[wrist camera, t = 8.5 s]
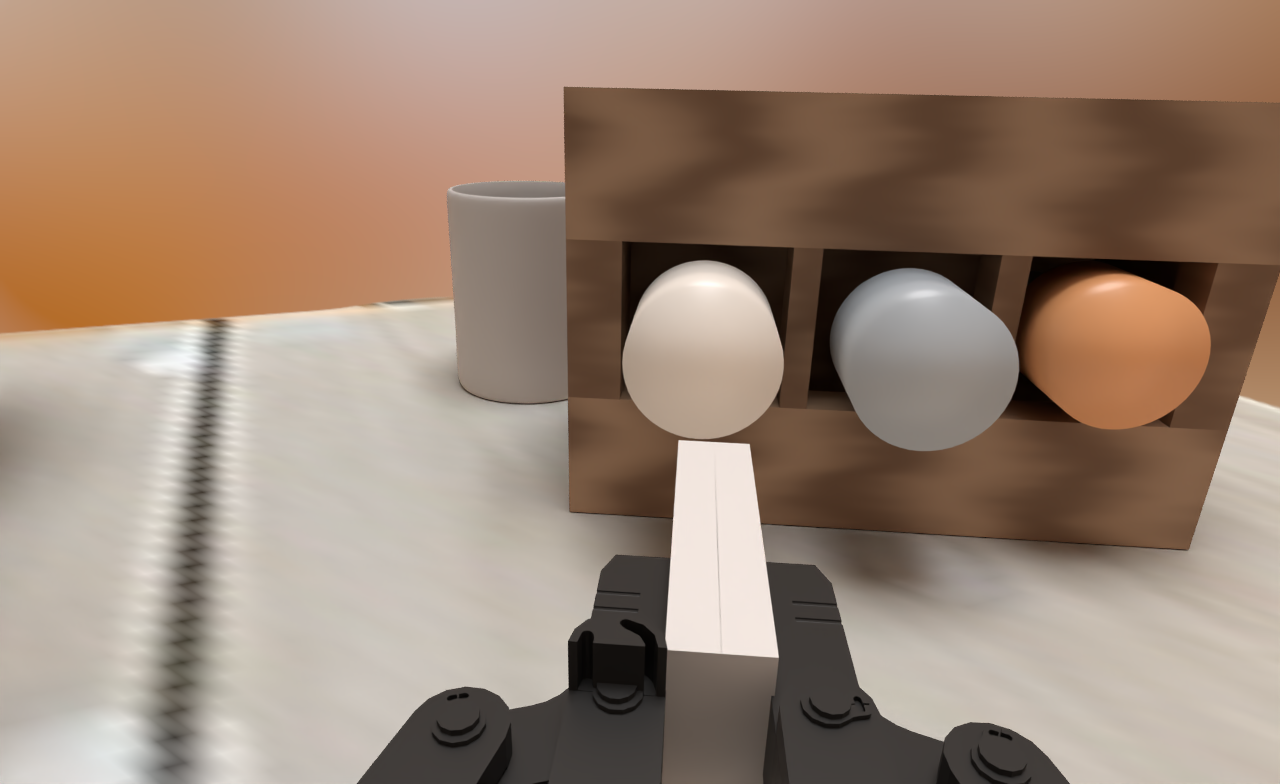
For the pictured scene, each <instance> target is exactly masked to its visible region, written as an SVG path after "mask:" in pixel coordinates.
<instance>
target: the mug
mask: <svg viewBox="0 0 1280 784" xmlns="http://www.w3.org/2000/svg"><path fill="white" fill-rule="evenodd" d="M447 208H448V223H449V236H450V251H451V266H452V280H453V294H454V309H455V325H456V344H457V367H458V376H459V380H460V383H461V385H462V386H463V387H464V389H466V390H467V391H468V392H470V393H471V394H473V395H476V396H478V397H481V398H484V399H488V400H493V401H499V402H506V403H546V402H554V401H560V400H565V399H568V361H567V288H566V215H565V182H546V181H497V182H496V181H495V182H480V183H470V184H463V185H457V186H454V187H451V188H449V190H448V192H447Z"/></svg>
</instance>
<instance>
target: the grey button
mask: <svg viewBox="0 0 1280 784" xmlns="http://www.w3.org/2000/svg"><path fill="white" fill-rule="evenodd" d="M830 353H831V357H832V361H833V364H834V366H835V369H836V371H837V373H838V375H839V377H840V379H841V381H842V383H843V386H844V388H845V390H846V392H847V394H848V396H849V398H850V400H851V403H852V405H853V407H854V409H855V411H856V413H857V415H858V416H859V418H860V420H861V421H862V422H863V423H864V425H865V426H866V427H867V428H868V429H869V430H870V431H871V432H872V433H873V434H875V435H876V436H877V437H879V438H880V439H882V440H884V441H885V442H887V443H889V444H892V445H894V446H897V447H900V448H904V449H908V450H915V451H935V450H943V449H947V448H951V447H954V446H957V445H960V444H963V443H965V442H967V441H969V440H971V439H973V438H975V437H976V436H978V435H979V434H981V433H982V432H984V431H985V430H986V429H987V428H989V427H990V426H991V425H992V424H993V423H994V422H995V421H996V420H997V419H998V418H999V417H1000V415H1001V414H1002V413H1003V412H1004V410H1005V409H1006V407H1007V405H1008V404H1009V402H1010V400H1011V398H1012V396H1013V393H1014V391H1015V388H1016V384H1017V381H1018V374H1019V358H1018V351H1017V348H1016V344H1015V341H1014V339H1013V337H1012V335H1011V333H1010V331H1009V330H1008V328H1007V327H1006V326H1005V324H1004V323H1003V322H1002V321H1001V320H1000V319H999V318H998V317H997V316H996V315H995V314H994V313H992V312H991V311H990V310H988V309H987V308H986V307H984V306H983V305H982V304H980V303H979V302H978V301H976V300H975V299H974V298H972V297H971V296H970V295H969V294H967V293H966V292H965V291H963V290H962V289H961V288H959V287H958V286H957V285H955V284H954V283H953V282H951V281H950V280H949V279H947V278H945V277H943V276H942V275H940V274H937V273H935V272H932V271H928V270H924V269H916V268H902V269H895V270H890V271H887V272H883V273H881V274H878V275H876V276H874V277H872V278H870V279H868V280H866V281H865V282H863V283H861V284H860V285H858V286H857V287H856V288H855V289H854V290H853V291H852V292H851V293H850V294H849V296H848V297H847V298H846V299H845V300H844V302H843V303H842V305H841V306H840V308H839V309H838V311H837V313H836V316H835V318H834V321H833V324H832V327H831V332H830Z"/></svg>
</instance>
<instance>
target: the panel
mask: <svg viewBox="0 0 1280 784" xmlns="http://www.w3.org/2000/svg"><path fill="white" fill-rule="evenodd" d="M564 136H565V137H564V140H565V142H564V143H565V215H566V288H567V361H568V433H569V506H570V512H585V513H602V514H618V515H634V516H650V517H667V518H673V517H674V502H675V487H676V472H677V457H678V442H679V440H684V441H703V442H721V443H740V444H750V451H751V458H752V465H753V473H754V480H755V487H756V495H757V502H758V509H759V516H760V523H764V524H780V525H797V526H813V527H829V528H845V529H862V530H878V531H894V532H910V533H927V534H943V535H959V536H975V537H992V538H1008V539H1024V540H1040V541H1057V542H1073V543H1089V544H1105V545H1122V546H1138V547H1154V548H1170V549H1187V550H1189V547H1190V544H1191V541H1192V538H1193V535H1194V532H1195V528H1196V525H1197V522H1198V519H1199V516H1200V513H1201V510H1202V507H1203V504H1204V501H1205V498H1206V495H1207V492H1208V489H1209V486H1210V483H1211V480H1212V477H1213V474H1214V471H1215V468H1216V465H1217V462H1218V459H1219V456H1220V452H1221V449H1222V446H1223V443H1224V440H1225V437H1226V434H1227V431H1228V428H1229V425H1230V422H1231V419H1232V416H1233V413H1234V410H1235V407H1236V404H1237V401H1238V398H1239V395H1240V392H1241V389H1242V385H1243V383H1244V380H1245V376H1246V373H1247V370H1248V367H1249V364H1250V361H1251V358H1252V355H1253V352H1254V349H1255V346H1256V343H1257V340H1258V337H1259V334H1260V331H1261V328H1262V325H1263V322H1264V319H1265V316H1266V312H1267V309H1268V306H1269V303H1270V300H1271V297H1272V294H1273V291H1274V288H1275V285H1276V282H1277V279H1278V276H1279V273H1280V103H1262V102H1218V101H1173V100H1170V101H1169V100H1128V99H1082V98H1038V97H992V96H949V95H903V94H858V93H814V92H813V93H811V92H769V91H724V90H679V89H634V88H632V89H631V88H589V87H588V88H587V87H586V88H585V87H564ZM701 260H708V261H717V262H721V263H725V264H728V265H731V266H733V267H735V268H737V269H739V270H741V271H743V272H744V273H745V274H747V275H748V276H749V277H751V278H752V279H753V280H754V281H755V282H756V283H757V284H758V286H759V287H760V288H761V290H762V291H763V293H764V294H765V296H766V298H767V300H768V302H769V305H770V308H771V311H772V314H773V318H774V321H775V324H776V328H777V331H778V335H779V338H780V341H781V345H782V349H783V357H784V370H783V376H782V381H781V384H780V387H779V390H778V392H777V394H776V397H775V399H774V400H773V402H772V403H771V405H770V406H769V408H768V409H767V410H766V411H765V412H764V413H763V415H761V416H760V417H759V418H758V419H757V420H756V421H755V422H753V423H752V424H750V425H749V426H748V427H746V428H744V429H742V430H740V431H738V432H736V433H733V434H731V435H728V436H724V437H720V438H713V439H693V438H687V437H682V436H678V435H676V434H673V433H670V432H668V431H666V430H664V429H662V428H660V427H659V426H657V425H656V424H654V423H653V422H651V421H650V420H649V419H648V418H647V417H646V416H645V415H644V414H643V413H642V412H641V411H640V410H639V409H638V407H637V406H636V404H635V403H634V402H633V400H632V398H631V396H630V394H629V392H628V390H627V387H626V384H625V380H624V375H623V365H622V360H623V351H624V346H625V342H626V339H627V336H628V333H629V330H630V327H631V324H632V321H633V318H634V315H635V312H636V309H637V307H638V304H639V301H640V299H641V298H642V296H643V294H644V292H645V291H646V289H647V288H648V287H649V285H650V284H651V283H652V282H653V281H654V280H655V279H656V278H657V277H659V276H660V275H661V274H662V273H664V272H666V271H667V270H669V269H671V268H673V267H675V266H677V265H680V264H683V263H687V262H692V261H701ZM1076 261H1098V262H1103V263H1107V264H1110V265H1112V266H1115V267H1117V268H1120V269H1122V270H1124V271H1127V272H1129V273H1132V274H1134V275H1136V276H1139V277H1141V278H1144V279H1146V280H1148V281H1151V282H1153V283H1156V284H1158V285H1160V286H1163V287H1165V288H1168V289H1170V290H1172V291H1175V292H1177V293H1179V294H1181V295H1183V296H1184V297H1186V298H1188V299H1189V300H1190V301H1191V302H1192V303H1194V304H1195V306H1196V307H1197V308H1198V309H1199V310H1200V311H1201V313H1202V315H1203V316H1204V318H1205V320H1206V322H1207V325H1208V328H1209V332H1210V340H1211V349H1210V356H1209V361H1208V365H1207V367H1206V370H1205V372H1204V374H1203V376H1202V378H1201V380H1200V382H1199V383H1198V385H1197V386H1196V388H1195V389H1194V391H1193V392H1192V393H1191V394H1190V395H1189V396H1188V397H1187V399H1186V400H1184V401H1183V402H1182V403H1181V404H1180V405H1179V406H1178V407H1176V408H1175V409H1174V410H1172V411H1171V412H1170V413H1168V414H1166V415H1164V416H1163V417H1161V418H1159V419H1157V420H1155V421H1153V422H1150V423H1147V424H1144V425H1142V426H1138V427H1133V428H1128V429H1101V428H1096V427H1092V426H1089V425H1086V424H1084V423H1081V422H1079V421H1078V420H1076V419H1074V418H1073V417H1071V416H1070V415H1069V414H1067V413H1066V412H1065V411H1064V410H1063V409H1062V408H1061V407H1059V406H1058V405H1057V404H1056V403H1055V402H1054V401H1053V400H1051V399H1050V398H1049V397H1048V396H1047V395H1046V394H1045V393H1043V392H1042V391H1041V390H1040V389H1039V388H1038V387H1037V386H1035V385H1034V384H1033V383H1032V382H1031V381H1030V380H1029V379H1028V378H1026V377H1025V376H1024V375H1023V374H1022V373H1021V372H1020V371H1019V374H1018V381H1017V384H1016V388H1015V391H1014V393H1013V396H1012V398H1011V400H1010V402H1009V404H1008V405H1007V407H1006V409H1005V410H1004V412H1003V413H1002V414H1001V415H1000V417H999V418H998V419H997V420H996V421H995V422H994V423H993V424H992V425H991V426H990V427H989V428H987V429H986V430H985V431H984V432H982V433H981V434H979V435H978V436H976V437H975V438H973V439H971V440H969V441H967V442H965V443H963V444H960V445H957V446H954V447H951V448H947V449H943V450H935V451H915V450H908V449H904V448H900V447H897V446H894V445H892V444H889V443H887V442H885V441H884V440H882V439H880V438H879V437H877V436H876V435H875V434H873V433H872V432H871V431H870V430H869V429H868V428H867V427H866V426H865V425H864V423H863V422H862V421H861V420H860V418H859V416H858V415H857V413H856V411H855V409H854V407H853V405H852V403H851V400H850V398H849V396H848V394H847V392H846V390H845V388H844V386H843V383H842V381H841V379H840V377H839V375H838V373H837V371H836V369H835V366H834V364H833V361H832V357H831V353H830V332H831V327H832V324H833V321H834V318H835V316H836V313H837V311H838V309H839V308H840V306H841V305H842V303H843V302H844V300H845V299H846V298H847V297H848V296H849V294H850V293H851V292H852V291H853V290H854V289H855V288H856V287H857V286H858V285H860V284H861V283H863V282H865V281H866V280H868V279H870V278H872V277H874V276H876V275H878V274H881V273H883V272H887V271H890V270H895V269H902V268H916V269H924V270H928V271H932V272H935V273H937V274H940V275H942V276H943V277H945V278H947V279H949V280H950V281H951V282H953V283H954V284H955V285H957V286H958V287H959V288H961V289H962V290H963V291H965V292H966V293H967V294H969V295H970V296H971V297H972V298H974V299H975V300H976V301H978V302H979V303H980V304H982V305H983V306H984V307H986V308H987V309H988V310H990V311H991V312H992V313H994V314H995V315H996V316H997V317H998V318H999V319H1000V320H1001V321H1002V322H1003V323H1004V324H1005V326H1006V327H1007V328H1008V330H1009V331H1010V333H1011V335H1012V337H1013V339H1014V341H1015V340H1016V335H1017V331H1018V326H1019V321H1020V316H1021V311H1022V307H1023V302H1024V297H1025V292H1026V287H1027V283H1028V278H1029V273H1030V271H1040V272H1044V273H1045V272H1047V271H1048V270H1050V269H1052V268H1055V267H1057V266H1060V265H1063V264H1066V263H1070V262H1076Z"/></svg>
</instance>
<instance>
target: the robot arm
mask: <svg viewBox="0 0 1280 784" xmlns="http://www.w3.org/2000/svg"><path fill="white" fill-rule="evenodd" d="M568 674H569V688H568V689H566V690H565V691H564V692H563V693H561V694H560V695H558V696H556V697H554V698H552V699H550V700H548V701H546V702H543V703H539V704H535V705H532V706H526V707H521V708H515V709H510V710H509V707H508V706H507V705H506V704H505V702H504V701H503V700H502V699H501V698H500V696H498V695H496V694H494V693H492V692H490V691H488V690H486V689H482V688H472V687H462V688H456V689H451V690H446V691H444V692H442V693H440V694H438V695H435V696H433V697H431V698H429V699H428V700H427V701H426V702H424V703H423V704H422V705H421V706H420V707H419V708H418V709H417V710H415V711H414V713H413V714H412V715H411V716H410V718H409V719H408V720H407V721H406V723H405V724H404V725H403V726H402V728H401V729H400V730H399V731H398V733H397V734H396V735H395V736H394V738H393V739H392V740H391V741H390V743H389V744H388V745H387V746H386V748H385V749H384V750H383V751H382V753H381V754H380V755H379V756H378V758H377V759H376V760H375V761H374V763H373V764H372V765H371V766H370V768H369V769H368V770H367V772H366V773H365V774H364V775H363V777H362V778H361V779H360V780H359V782H358V783H357V784H1070V783H1069V782H1068V781H1067V780H1066V778H1065V777H1064V776H1063V775H1062V774H1061V772H1060V771H1059V770H1058V769H1057V767H1056V766H1055V765H1054V764H1053V762H1052V761H1051V760H1050V759H1049V757H1048V756H1046V755H1045V754H1044V753H1043V752H1042V751H1041V750H1040V749H1039V748H1038V747H1037V746H1036V745H1035V744H1034V743H1033V742H1031V741H1030V740H1028V739H1026V738H1025V737H1023V736H1021V735H1019V734H1018V733H1016V732H1014V731H1012V730H1010V729H1007V728H1004V727H1000V726H997V725H994V724H991V723H973V722H970V723H967V724H963V725H960V726H957V727H954V728H953V729H952V731H951V732H950V733H949V734H948V735H947V736H946V737H945V740H944V742H942V741H939V740H936V739H933V738H930V737H927V736H924V735H921V734H918V733H915V732H912V731H909V730H907V729H904V728H902V727H900V726H897V725H895V724H894V723H892V722H891V721H889V720H887V719H886V718H884V717H882V716H881V715H880V713H879V711H878V709H877V707H876V705H875V703H874V702H873V700H872V698H871V697H870V696H869V695H867V694H866V693H865V692H864V691H863V690H862V689H861V688H860V687H859V685H858V681H857V677H856V674H855V670H854V666H853V662H852V659H851V655H850V651H849V647H848V644H847V640H846V636H845V632H844V629H843V625H842V624H841V617H840V613H839V610H838V608H837V602H836V598H835V595H834V591H833V587H832V583H831V582H830V581H829V580H828V579H827V578H826V577H825V576H824V575H823V574H822V572H821V571H820V570H819V569H818V568H817V567H816V566H815V565H803V564H787V563H771V562H766V560H765V553H764V546H763V538H762V531H761V524H760V516H759V509H758V502H757V495H756V487H755V480H754V473H753V465H752V458H751V451H750V444H740V443H721V442H703V441H684V440H679V442H678V457H677V472H676V487H675V502H674V517H673V532H672V547H671V558H660V557H645V556H629V555H615V556H614V558H613V559H612V560H611V561H610V562H609V563H608V564H607V565H606V566H605V567H604V568H603V569H602V570H601V573H600V578H599V583H598V588H597V594H596V597H595V602H594V609H593V611H592V616H591V619H588V620H586V621H585V622H583V623H582V624H581V625H579V626H578V627H577V628H575V629H574V631H573V633H572V635H571V637H570V639H569V640H568Z"/></svg>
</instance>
